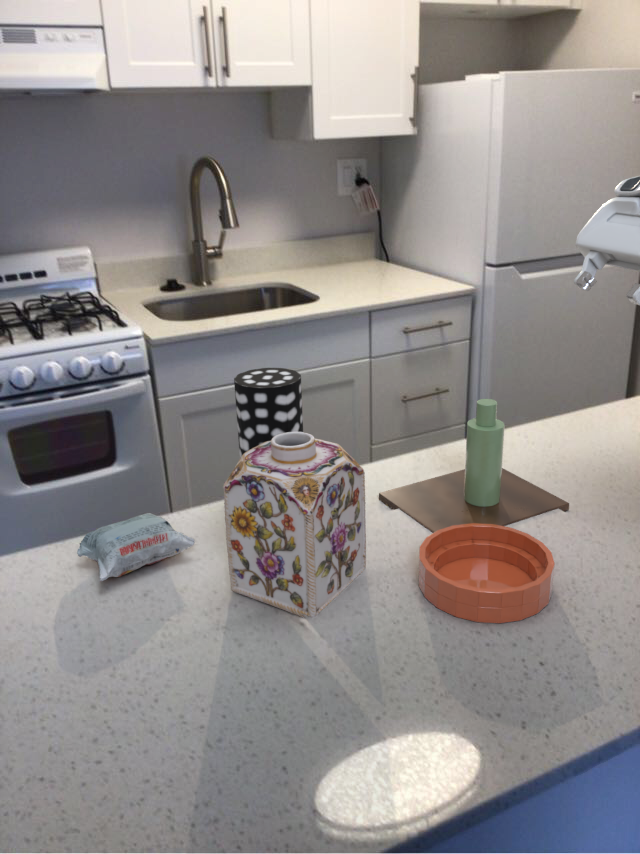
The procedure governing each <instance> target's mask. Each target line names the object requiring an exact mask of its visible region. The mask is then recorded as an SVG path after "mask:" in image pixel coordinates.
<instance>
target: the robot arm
mask: <svg viewBox="0 0 640 854" xmlns="http://www.w3.org/2000/svg"><path fill="white" fill-rule="evenodd" d="M613 193H614V195H615V197H612V198H611V199H609V200H607V201H606V202H605V203H603V204H602V205H601V206H600V207H599V208H598V209H597V210H596V212H594V214H593V215H592V217H590V218H589V220H588V221H587V222H586V224H584V226H583V227H582V229H581V230H580V231H579V233H578V234H577V236H576V239H575V247H576V248H577V250H578V251H579V252H580V254H581V255H582V257H584V259H583V263H582V266H581V271H580V272H579V273H578V274H577V276H575V278H574V279H573V284H574V285H575V287H576V288H577V289H579V290H582V291H585V292H589V291H590V290H591V289H592V287H594V286H595V285H596V284H597V283H598V281H597V280H596V279H595V277H596V274H597V271H601V270H602V269H604V267H605V266H609V267H613V268H619V269H624V270H627V271H632V272H633V271H634V272H638V273H640V175H637V176H633V177H629V178H626V179H623V180H621V181H620V182H619V183H618V184H617V185H616V187H615V188H614V190H613ZM626 298H627V300H628V301H629V303H631V304H633V305H637V306H640V283H634V285H632V286H631V288H630V289H629V290H628V292H626Z"/></svg>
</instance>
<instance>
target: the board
mask: <svg viewBox="0 0 640 854" xmlns="http://www.w3.org/2000/svg"><path fill="white" fill-rule="evenodd" d="M464 486H465V468H464V469H460V470H457V471H453V472H449V473H446V474H445V473H444V474H442V475H439V476H435V477H432V478H431V477H430V478H428V479H424V480H420V481H417V482H413V483H410V484H406V485H403V486H399V487H396V488H392V489H388V490H384V491H380V492H379V493H378V500H379V501H381V502H382V503H384V504H385V505H386V506H388V507H389V508H391V510H400V511H401V512H402V513H404V514H406V516H408V517H410V518H411V519H412V520H414V521H415V522H417V523H418V524H420V525H421V526H422V527H424V528H425V529H426V530H428V531H429V532H431V534H433V533H434V532H436V531H437V530H440V529H443V528H446V527H450V526H453V525H461V524H470V523H478V524H495V525H500V526H505V527H507V526H509V525H512V524H515V523H518V522H521V521H525V520H527V519H531V518H534V517H536V516H540V515H543V514H546V513H548V512H552V511H554V510H558V509H559V510H560V511H562V512H566V511H568V510H569V509H570V502H568V501H566V500H564V499H562V498H561V497H559V496H557V495H555V494H553V493H551V492H550V491H547V490H545V489H544V488H541V487H539V486H537V485H536V484H534V483H532V482H531V481H528V480H526V479H525V478H522V477H520V476H518V475H517V474H515V473H512V472H511V471H509V470H507V469H505V468H503V467H502V475H501V491H500V501H499V503H498V504H496V505H493V506H488V507H480V506H475V505H471V504H469V503H468V502H466V501H465V499H464Z"/></svg>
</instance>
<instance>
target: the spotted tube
mask: <svg viewBox="0 0 640 854" xmlns="http://www.w3.org/2000/svg"><path fill="white" fill-rule="evenodd" d="M233 383H234V397H235V410H236V412H235V413H236V425H237V438H238V450H239V452H238V453H239V459H240V458H241V456H242V455H243V454H244V453H245V452H247V451H248V450H250V449H252V448H254V447H256V446H258V445H260V444H262V443H264V442H267V441H271V440H272V438H273V437H274V436H276V435H279V434H282V433H287V432H304V418H303V417H304V416H303V415H304V414H303V397H302V395H303V394H302V393H303V391H302V389H303V388H302V375H301V373H300V372H298V371H297V370H294V369H290V368H284V367H261V368H254V369H249V370H245V371H242V372H240V373H238V374H236V375H235V376H234V378H233Z"/></svg>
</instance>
